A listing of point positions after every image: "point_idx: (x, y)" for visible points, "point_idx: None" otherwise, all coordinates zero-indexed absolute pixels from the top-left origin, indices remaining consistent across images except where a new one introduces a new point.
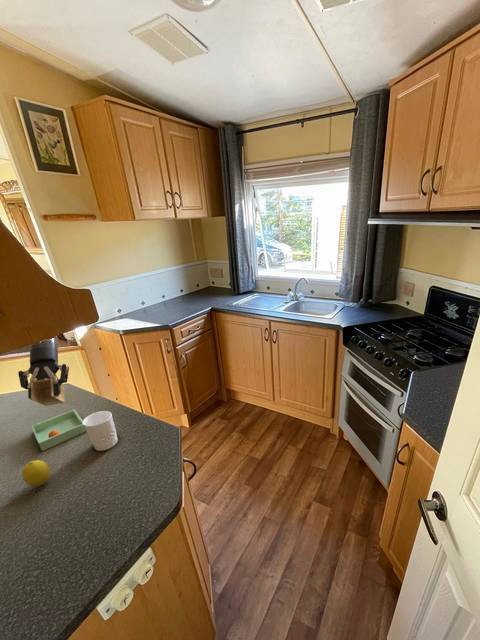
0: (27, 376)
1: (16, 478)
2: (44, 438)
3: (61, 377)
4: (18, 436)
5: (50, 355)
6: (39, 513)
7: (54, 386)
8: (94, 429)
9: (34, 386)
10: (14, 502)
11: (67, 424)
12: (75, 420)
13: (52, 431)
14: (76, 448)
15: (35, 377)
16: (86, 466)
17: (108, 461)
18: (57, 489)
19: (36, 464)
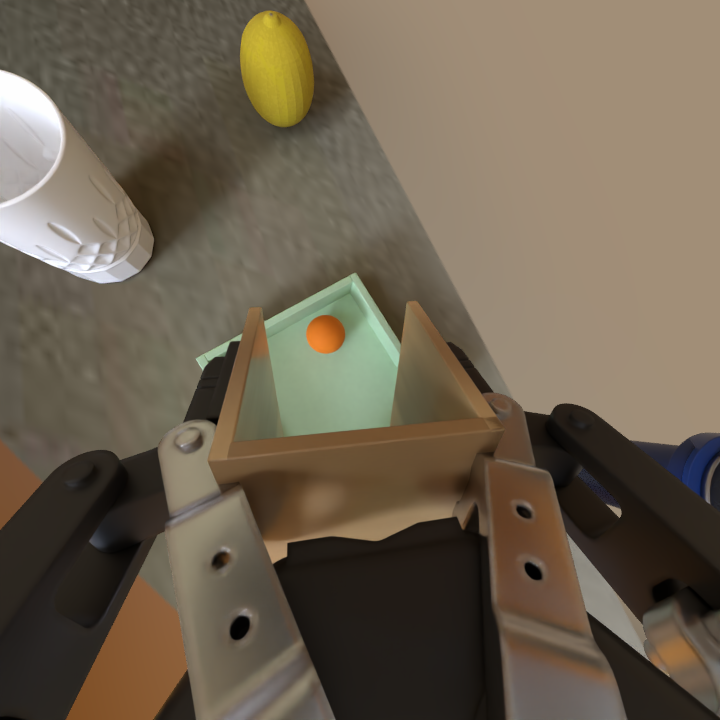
0: (656, 613)
1: (373, 177)
2: (370, 354)
3: (73, 505)
4: None
5: None
6: None
7: (225, 394)
8: (15, 94)
9: (450, 418)
10: (332, 86)
11: (311, 433)
12: None
13: (326, 329)
14: (226, 257)
15: (485, 507)
16: (163, 147)
17: (87, 142)
18: (230, 85)
19: (254, 19)
